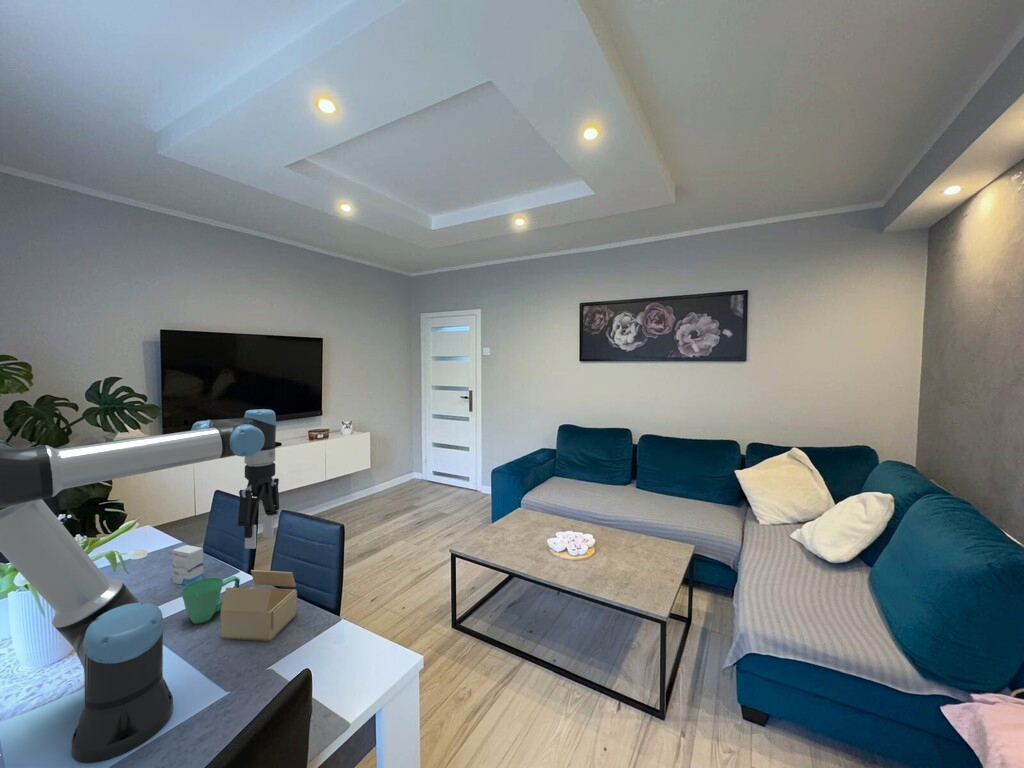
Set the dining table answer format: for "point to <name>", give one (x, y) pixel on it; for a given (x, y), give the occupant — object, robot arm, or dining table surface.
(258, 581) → the flap far
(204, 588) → the mug
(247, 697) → the dining table surface
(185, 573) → the ink box
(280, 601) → the carton
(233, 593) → the flap near
